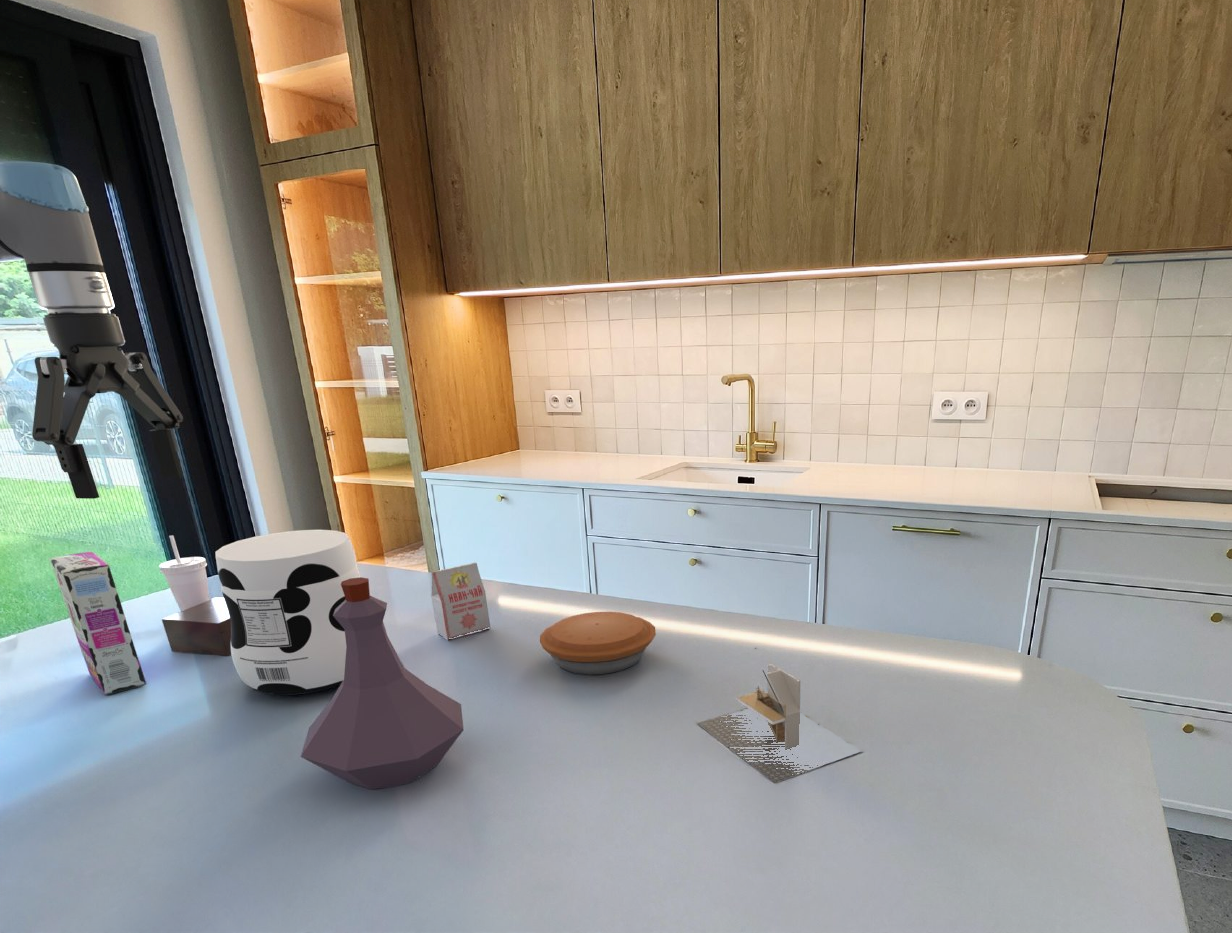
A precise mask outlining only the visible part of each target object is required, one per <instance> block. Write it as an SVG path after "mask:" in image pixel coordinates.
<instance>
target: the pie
mask: <svg viewBox="0 0 1232 933" xmlns="http://www.w3.org/2000/svg"><path fill="white" fill-rule="evenodd" d="M656 635H657V633H656V626H654V624H652V623H651V622H650V621H648V620H647V619H644V618H642V617H639V616H635V615H633V614H630V613H625V612H619V611H593V612H584V613H579V614H574V615H571V616H567V617H565V618H563V619H561V620H559V621H557V622H555V623H554V624H552V625H550V626H548V627H547V628H545V629H544V630H543V631H542V632H541V633H540V635H539V643H540V645H541V647H542V649H543V650H544V651H545V652H546V653H548V654H549V655H550V656H551V658H553V660H554V661H555V663H556V664H557V665H558V666H559V667H560V668H561V669H564V670H565V671H567V672H570V673H574V674H580V675H590V676H591V675H594V676H595V675H606V674H612V673H616V672H621V671H624V670H626V669H628V668H631V667H633V666H634V665H636V664H637V663H638V662H639V661H640V659H641V657H642V656H643V654H644V652H645V650H646V649H647V647H648V646H649V645H650V644H651V643H652V642H653V640H654V638H655V637H656Z"/></svg>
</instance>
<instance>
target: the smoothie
mask: <svg viewBox="0 0 1232 933" xmlns="http://www.w3.org/2000/svg"><path fill="white" fill-rule="evenodd" d="M168 537H169V540H170V544H171V547H172V551H173V554H174V558H175V559H171V560H167V561H163V562H161V563H160V564H159V565H158V568H159V573H161V574H163V575H164V578H165V581H166V583H167V585H168V587H169V590H170V591H171V593H172V596H173V597H174V600H175V602H176V604H177V606H178V608H179V610H180V611H179V612H181V611H183V610H186V609H188V608H191V607H193V606H196V605H198V604H201V603H204V602H206V601H209V600H211V598H210V590H209V584H208V575H207V569H206V567H207V566H208V563H207V559H206V558H205V557H202V556H189V557H188V556H187V557H180V554H179V550H178V547H177V543H176V539H175V536H174V535H173V534H172V535H169V536H168Z"/></svg>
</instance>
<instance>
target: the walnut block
mask: <svg viewBox="0 0 1232 933" xmlns="http://www.w3.org/2000/svg"><path fill="white" fill-rule="evenodd" d="M161 622H162V626H163V628H164V631H165V635H166V638H167V641H168V645H169V648H170V651H171V652H177V653H188V654H189V653H190V654H199V655H212V656H222V657H223V656H224V657H229V656H232V655H231V621H230V616H229V613H228V609H227V606H226V603H225V600H224V597H219V596H218V597H217V596H216V597H213V598H210V600H209V601H206V602H204V603H201V604H198V605H196V606H193V607H191V608H188V609H186V610H183V611H178V612H176V613H173V614H171V615H168V616H166V617H164V618H162V619H161Z"/></svg>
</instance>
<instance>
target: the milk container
mask: <svg viewBox="0 0 1232 933" xmlns="http://www.w3.org/2000/svg"><path fill="white" fill-rule="evenodd" d="M215 560H216V561H215V562H216V568H217V575H218V578H219V582H220V589H221V590H220V591H221V593H222V596H223V597H222V598H224V600H225V603H226V606H227V609H228V613H229V616H230V621H231V655H230V656H231V659H232V662H233V665H234V667H235V668H234V669H235V670H236V672H237V674H238V675H239V678H240V679H241V681H242V682H243V683H244V684H245V685H246V686H247V687H249V688H250V689H252V690H254V691H256V692H259V693H262V694H268V695H270V694H271V695H275V696H288V695H303V694H304V695H305V694H310V693H315V692H322V691H325V690H328V689H332V688H336V687H339V686H340V685H341V683H342V681H343V680H344V673H345V660H346V638H345V629H344V628H343V627H342V626H341V625H340V623H339V622H338V621H337V620H336V619H335V617H334V616H333V614H334V611H335V609H336V608H337V607H338V606H339V605H340V604H341V603H343V602H344V601H345V600H346V598H345V595H344V592H343V589H342V587H341V582H342V581H345V580H348V579H351V578H360V571H359V567H358V566H357V564H358V563H357V556H356V552H355V549H354V546H353V543H352V540H351V538H350V536H349V535H348V534H347V533H346V532H343V531H340V530H334V529H333V530H332V529H299V530H289V531H288V530H287V531H280V532H273V533H266V534H262V535H256V536H252V537H248V538H245V539H240V540H237V541H234V542H231V543H228V544H225V545H223V546H221V547H220V548H219V549H217V550H216V551H215Z"/></svg>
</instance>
